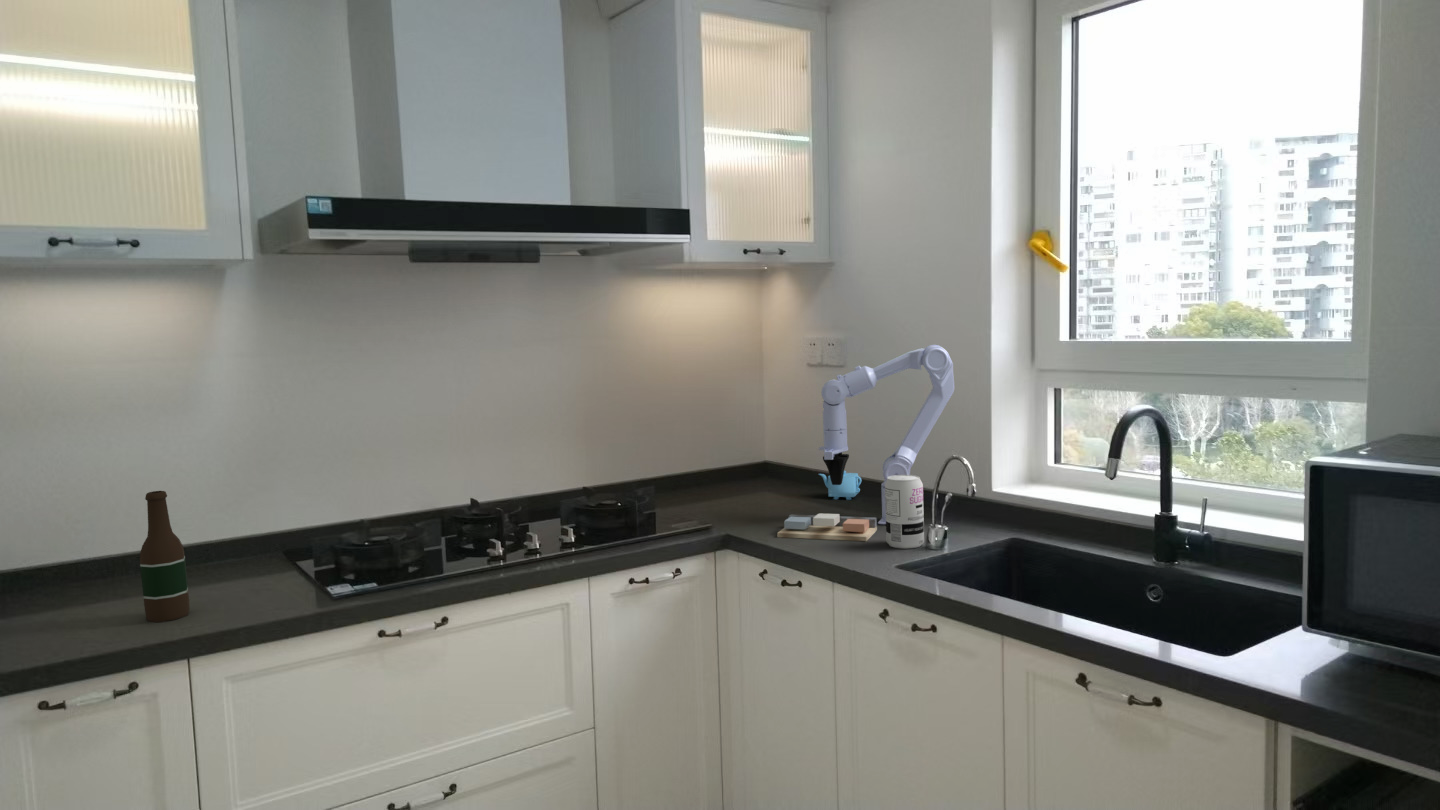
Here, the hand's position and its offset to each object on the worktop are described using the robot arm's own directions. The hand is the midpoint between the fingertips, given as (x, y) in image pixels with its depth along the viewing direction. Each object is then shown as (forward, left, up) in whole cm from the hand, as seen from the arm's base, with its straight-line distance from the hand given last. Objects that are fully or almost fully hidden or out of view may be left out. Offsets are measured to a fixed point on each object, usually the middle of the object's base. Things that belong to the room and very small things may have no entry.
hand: (836, 484), depth 244 cm
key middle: (-1, +12, -7) cm, 14 cm away
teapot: (+7, -30, -10) cm, 32 cm away
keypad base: (-1, +12, -9) cm, 15 cm away
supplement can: (-20, +19, -10) cm, 29 cm away
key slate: (+7, +12, -8) cm, 16 cm away
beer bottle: (+105, +100, -10) cm, 145 cm away
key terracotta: (-7, +12, -8) cm, 17 cm away
